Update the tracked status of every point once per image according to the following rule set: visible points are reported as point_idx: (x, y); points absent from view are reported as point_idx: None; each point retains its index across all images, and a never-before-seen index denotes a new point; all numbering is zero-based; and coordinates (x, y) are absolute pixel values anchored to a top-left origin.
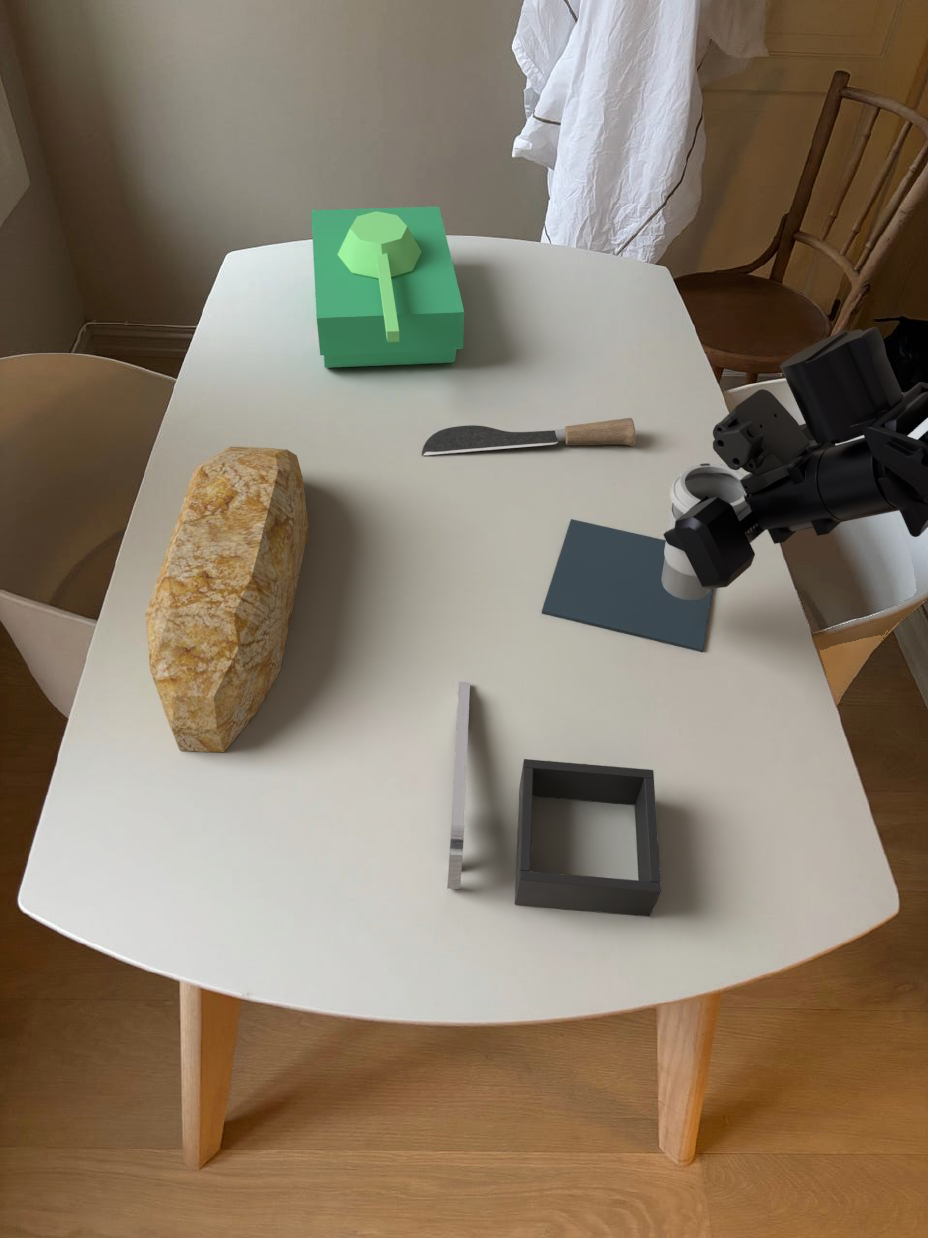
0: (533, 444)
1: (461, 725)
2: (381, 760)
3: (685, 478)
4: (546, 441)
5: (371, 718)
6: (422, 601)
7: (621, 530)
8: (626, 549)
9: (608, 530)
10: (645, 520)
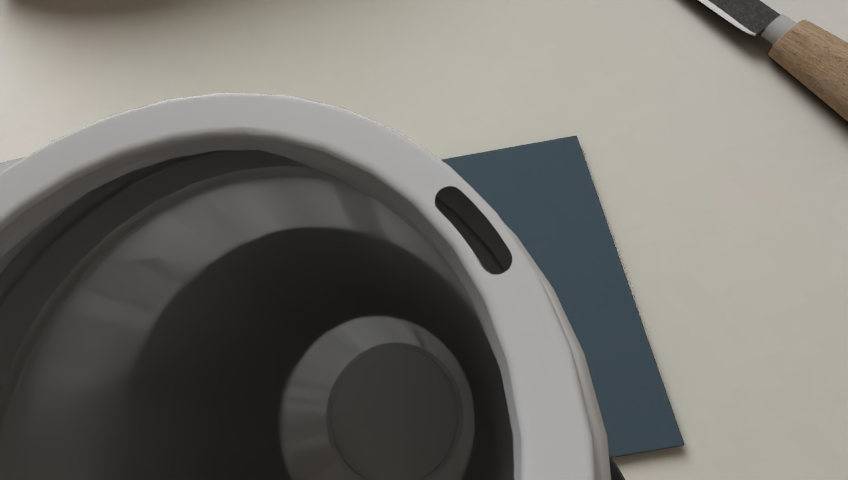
0: (715, 7)
1: None
2: (15, 115)
3: (192, 136)
4: (740, 19)
5: (77, 77)
6: (290, 38)
7: (606, 224)
8: (560, 251)
9: (590, 203)
10: (674, 258)
